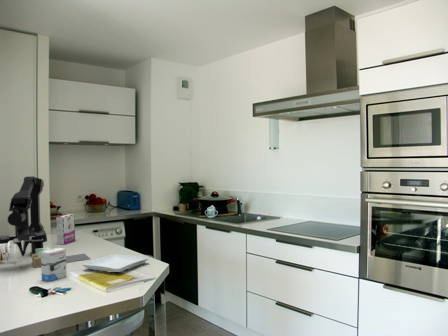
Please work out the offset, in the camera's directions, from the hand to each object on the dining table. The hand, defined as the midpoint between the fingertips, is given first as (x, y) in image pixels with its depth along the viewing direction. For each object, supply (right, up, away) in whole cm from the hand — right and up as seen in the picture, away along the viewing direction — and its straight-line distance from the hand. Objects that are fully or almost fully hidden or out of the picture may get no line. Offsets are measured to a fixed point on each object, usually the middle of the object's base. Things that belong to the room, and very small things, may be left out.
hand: (23, 255), depth 176 cm
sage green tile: (+7, -1, +5) cm, 9 cm away
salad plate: (+45, -5, -5) cm, 45 cm away
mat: (+19, -4, +13) cm, 23 cm away
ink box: (+23, -5, -20) cm, 31 cm away
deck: (+9, -5, +6) cm, 12 cm away
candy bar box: (-1, -4, +52) cm, 52 cm away
